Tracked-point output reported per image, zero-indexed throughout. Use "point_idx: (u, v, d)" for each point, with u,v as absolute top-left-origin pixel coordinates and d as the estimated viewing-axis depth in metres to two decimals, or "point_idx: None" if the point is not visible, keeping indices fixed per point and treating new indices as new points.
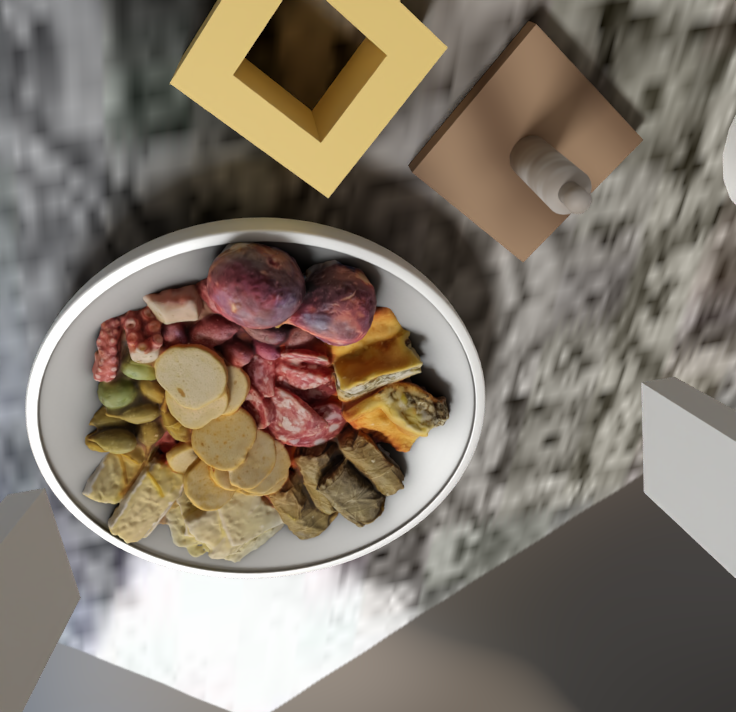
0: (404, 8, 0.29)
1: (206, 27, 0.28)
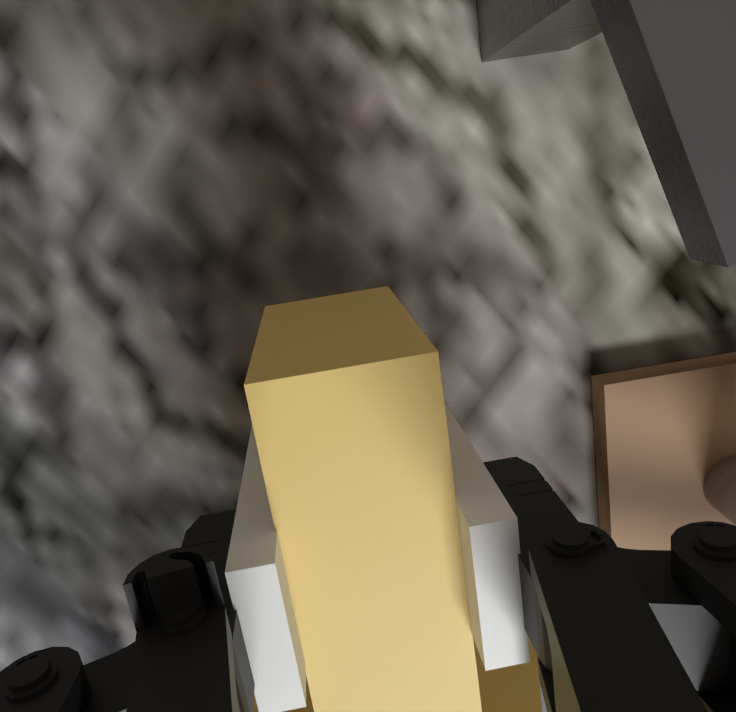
0: None
1: None
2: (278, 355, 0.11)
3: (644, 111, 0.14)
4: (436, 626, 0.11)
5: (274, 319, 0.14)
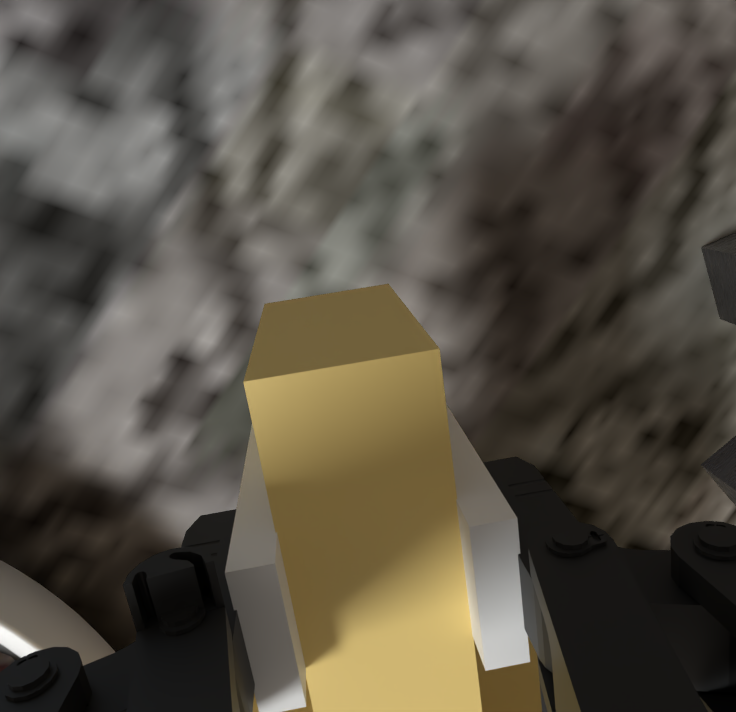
0: None
1: None
2: (278, 352, 0.11)
3: None
4: (436, 626, 0.11)
5: (274, 317, 0.14)
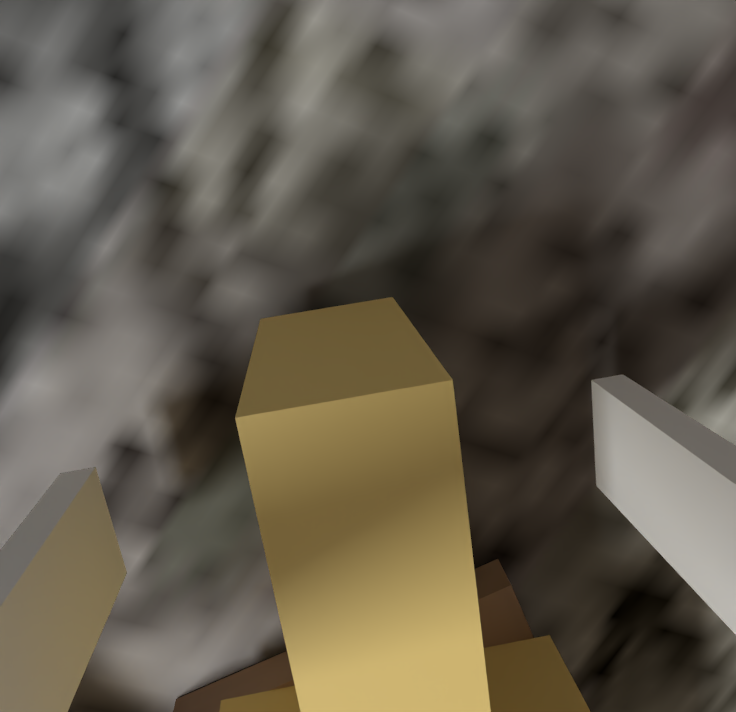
0: None
1: None
2: (274, 380, 0.10)
3: None
4: (447, 677, 0.10)
5: (270, 335, 0.13)
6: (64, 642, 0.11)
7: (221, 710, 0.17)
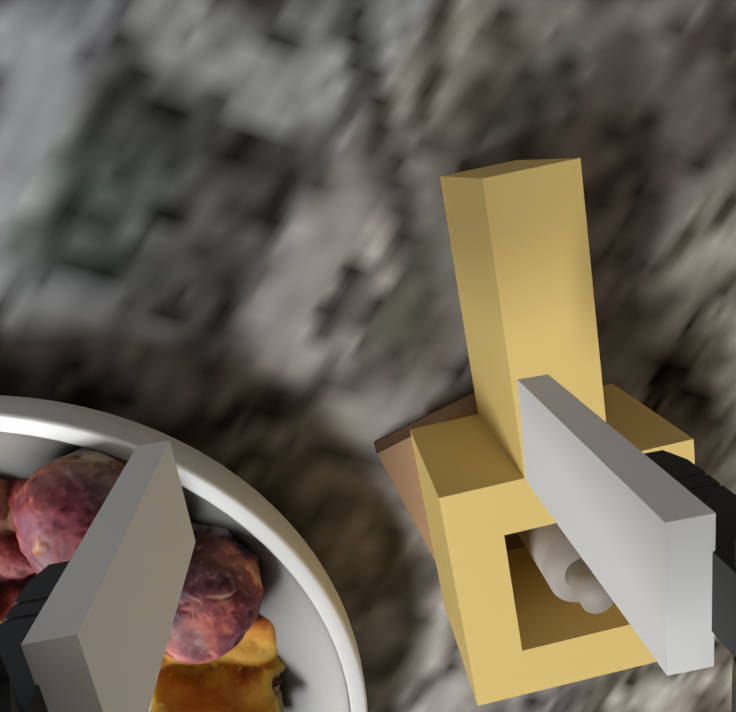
0: None
1: (467, 642, 0.24)
2: (485, 174, 0.20)
3: None
4: (576, 321, 0.21)
5: (457, 175, 0.23)
6: (156, 596, 0.12)
7: (412, 432, 0.27)
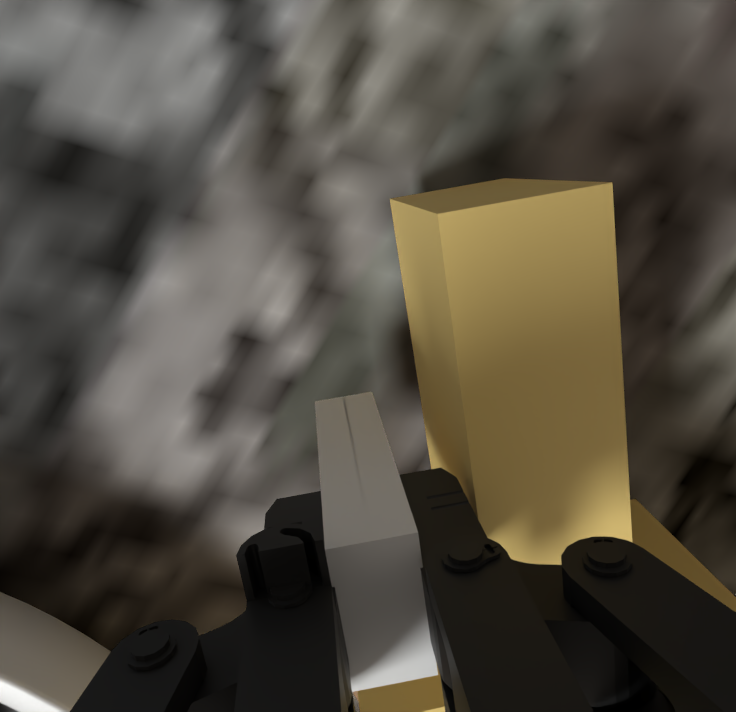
0: None
1: None
2: (448, 204, 0.12)
3: None
4: (595, 455, 0.12)
5: (412, 199, 0.15)
6: None
7: None
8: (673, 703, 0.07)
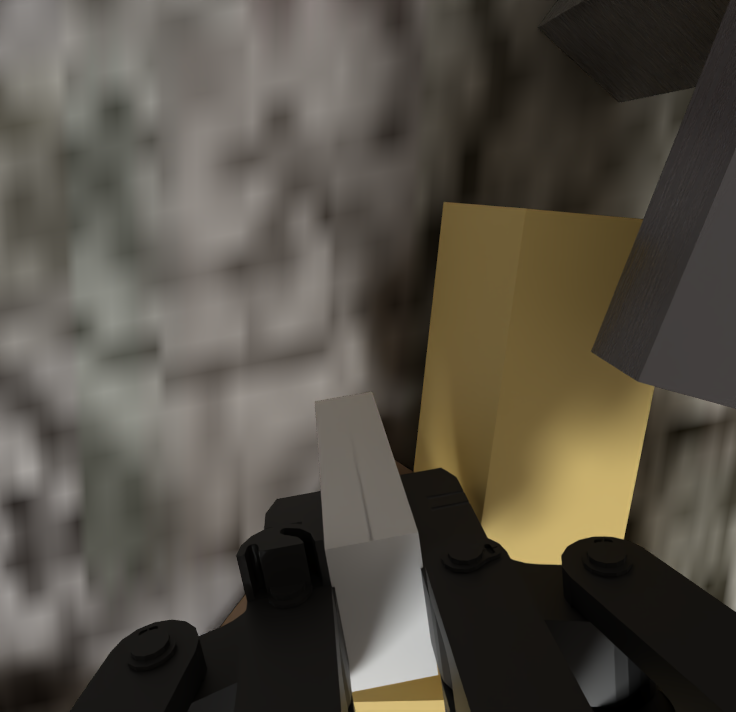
0: None
1: None
2: None
3: (706, 110, 0.09)
4: (606, 479, 0.13)
5: None
6: None
7: None
8: (673, 703, 0.07)
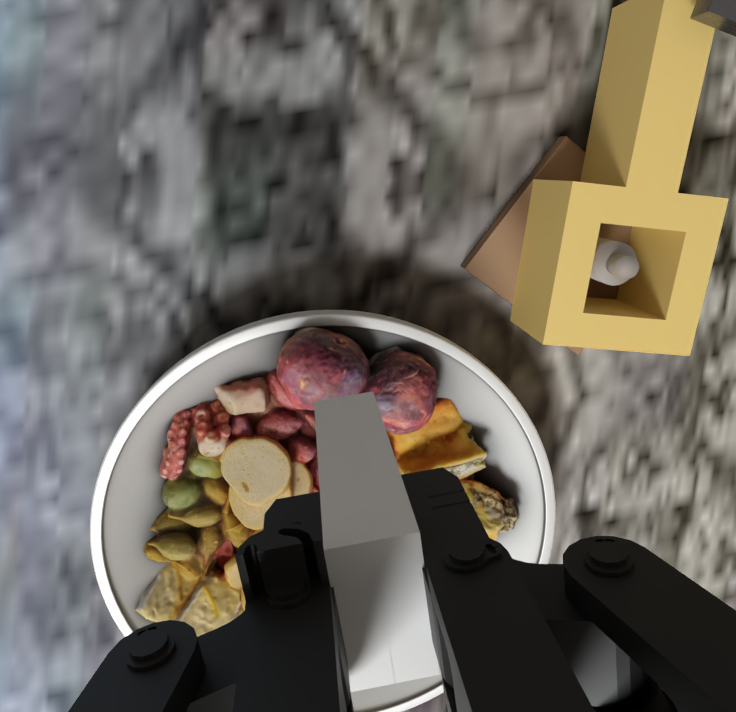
0: (683, 194, 0.35)
1: (553, 293, 0.36)
2: None
3: None
4: (689, 92, 0.34)
5: None
6: None
7: (536, 179, 0.40)
8: (675, 702, 0.07)
